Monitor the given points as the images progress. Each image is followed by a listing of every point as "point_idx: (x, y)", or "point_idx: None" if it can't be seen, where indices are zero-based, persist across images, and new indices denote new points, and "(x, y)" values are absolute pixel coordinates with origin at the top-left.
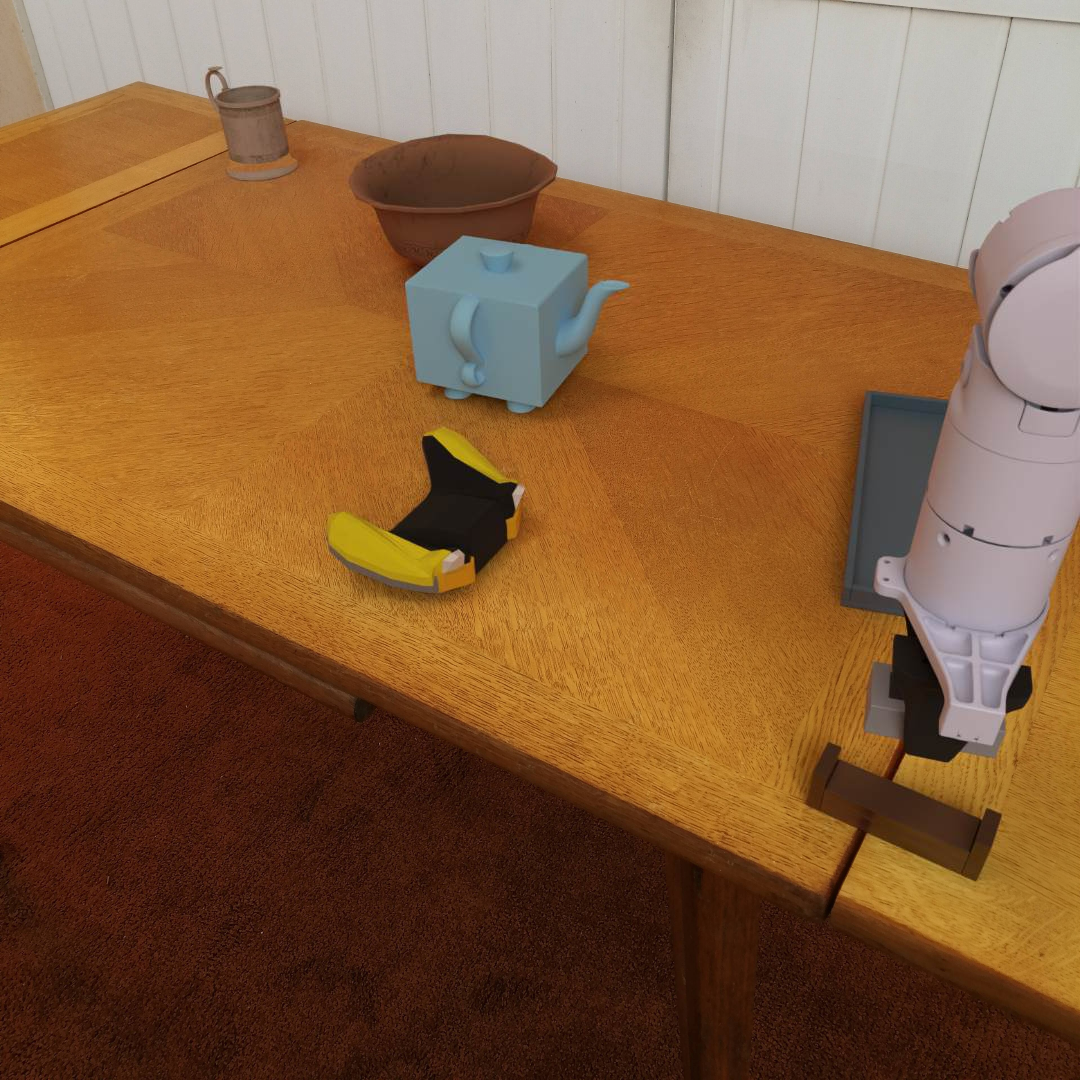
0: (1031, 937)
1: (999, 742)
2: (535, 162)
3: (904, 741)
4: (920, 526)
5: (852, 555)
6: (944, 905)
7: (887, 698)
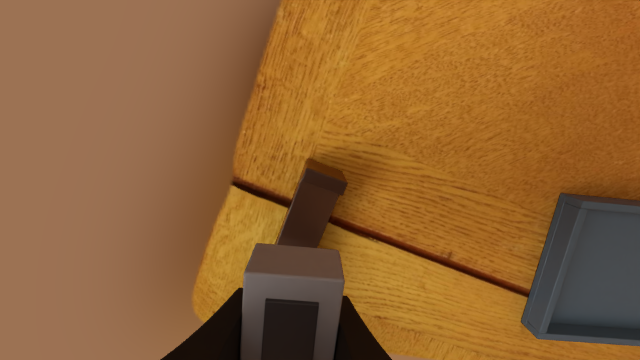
0: None
1: None
2: None
3: (231, 296)
4: None
5: (634, 210)
6: (236, 257)
7: (265, 296)
